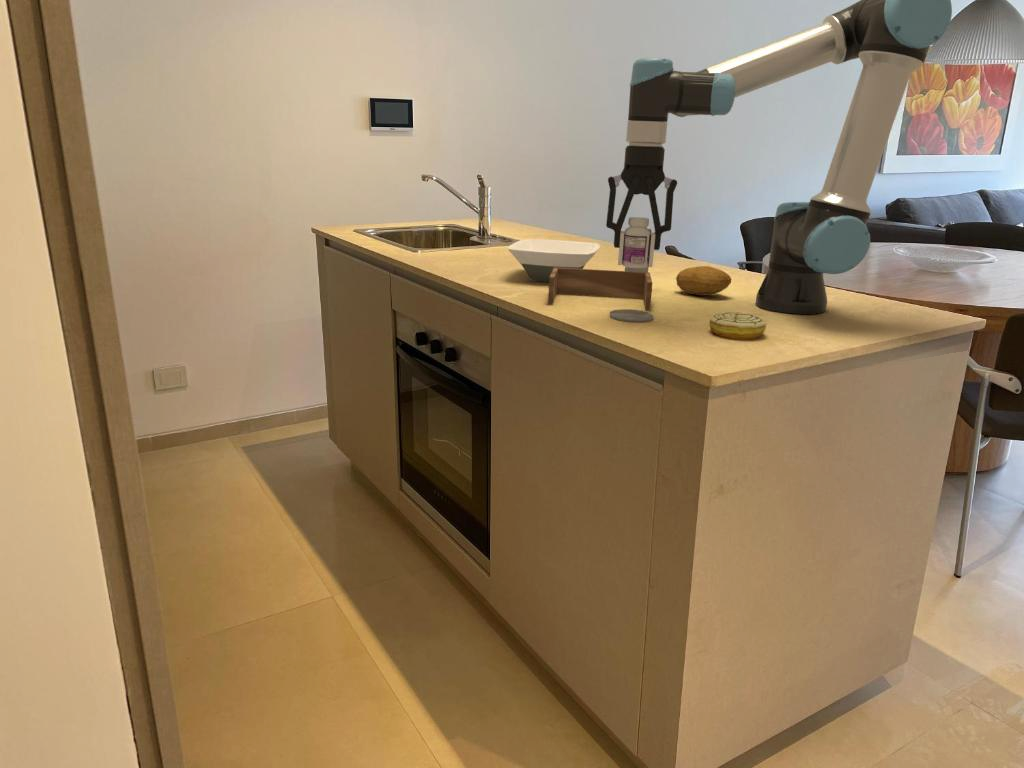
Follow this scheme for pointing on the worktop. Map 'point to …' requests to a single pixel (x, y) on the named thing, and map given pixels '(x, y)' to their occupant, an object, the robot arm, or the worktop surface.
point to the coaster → (631, 315)
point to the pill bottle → (636, 243)
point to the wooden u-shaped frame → (600, 284)
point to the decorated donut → (737, 325)
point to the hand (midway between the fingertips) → (635, 264)
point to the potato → (703, 280)
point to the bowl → (551, 256)
